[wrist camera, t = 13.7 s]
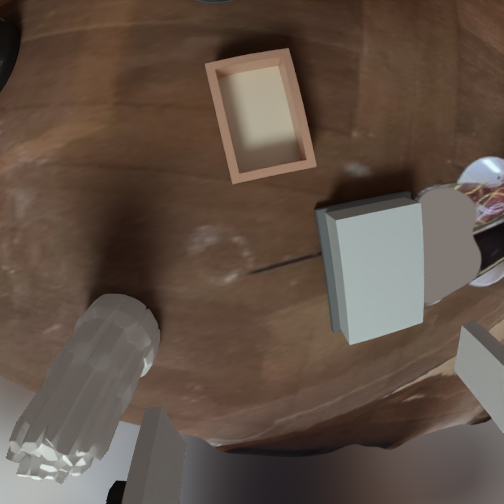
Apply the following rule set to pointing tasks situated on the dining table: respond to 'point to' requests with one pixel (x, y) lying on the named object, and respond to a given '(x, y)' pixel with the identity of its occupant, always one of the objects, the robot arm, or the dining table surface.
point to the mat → (327, 248)
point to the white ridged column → (86, 390)
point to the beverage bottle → (215, 1)
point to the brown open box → (260, 115)
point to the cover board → (378, 267)
